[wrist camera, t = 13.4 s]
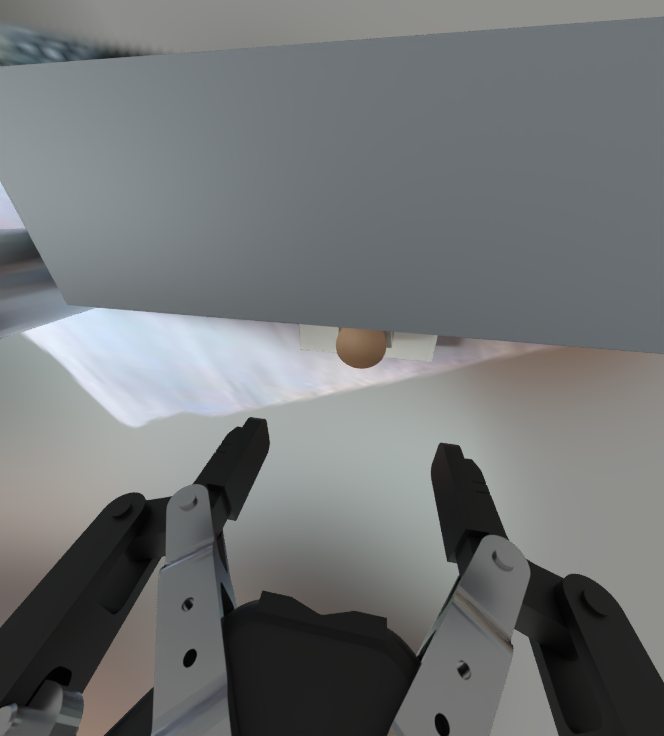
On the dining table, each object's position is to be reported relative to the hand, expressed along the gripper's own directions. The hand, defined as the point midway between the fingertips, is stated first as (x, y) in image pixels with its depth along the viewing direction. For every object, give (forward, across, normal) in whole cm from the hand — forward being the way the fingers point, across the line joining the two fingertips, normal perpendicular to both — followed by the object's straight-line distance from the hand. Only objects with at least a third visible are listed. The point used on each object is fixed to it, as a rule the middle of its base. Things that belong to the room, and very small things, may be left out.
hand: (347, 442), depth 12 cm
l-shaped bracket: (+20, 0, -4) cm, 20 cm away
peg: (+20, 0, 0) cm, 20 cm away
